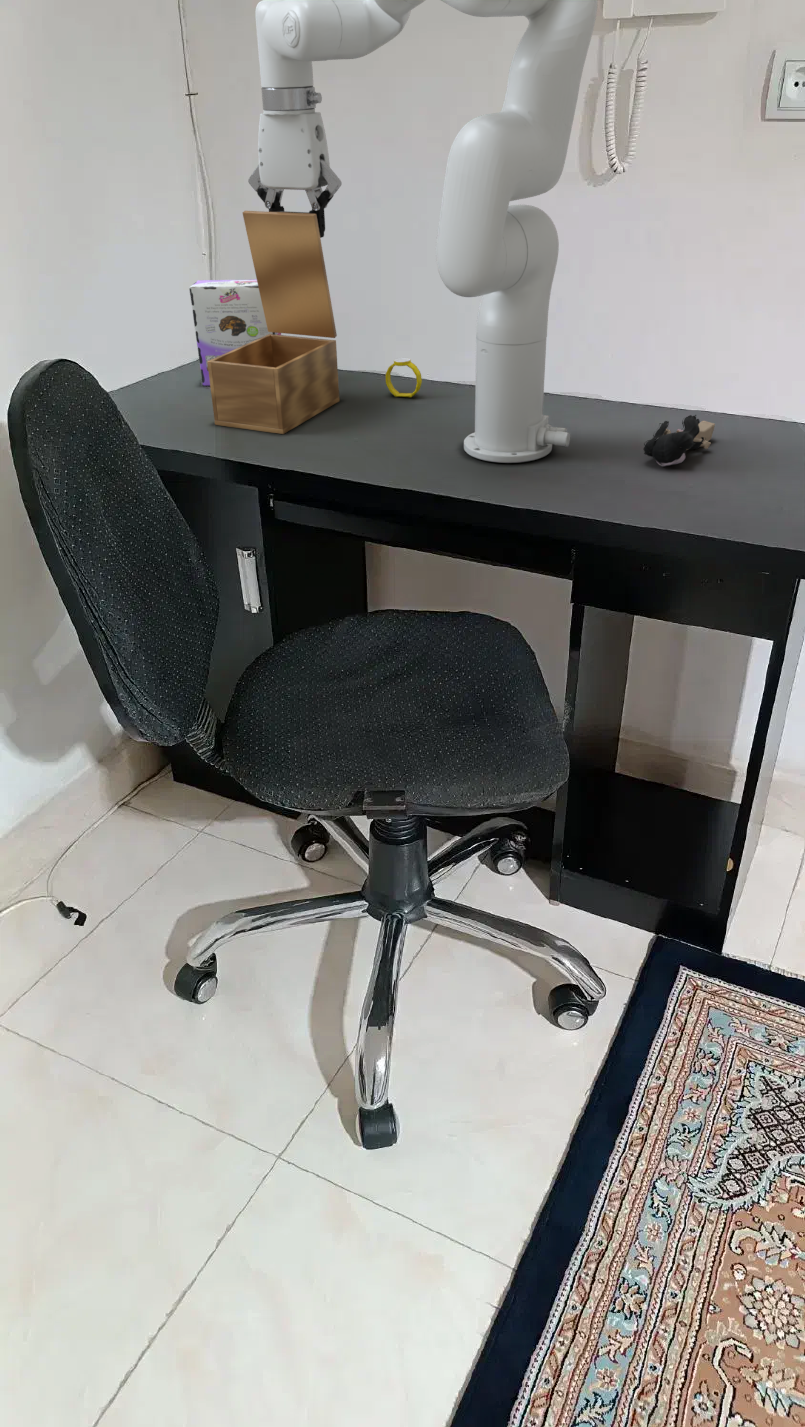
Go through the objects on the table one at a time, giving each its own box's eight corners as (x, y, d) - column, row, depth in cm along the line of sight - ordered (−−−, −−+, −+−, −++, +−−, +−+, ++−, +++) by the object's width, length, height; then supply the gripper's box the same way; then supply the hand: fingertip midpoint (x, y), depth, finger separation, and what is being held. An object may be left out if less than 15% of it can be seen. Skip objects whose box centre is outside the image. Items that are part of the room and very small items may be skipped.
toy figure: (668, 436, 153) (635, 463, 142) (679, 393, 150) (646, 418, 138) (715, 449, 151) (686, 477, 139) (727, 406, 147) (698, 432, 136)
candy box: (286, 377, 184) (277, 277, 175) (279, 386, 179) (270, 284, 170) (209, 376, 185) (197, 278, 176) (201, 386, 180) (188, 285, 171)
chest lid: (313, 215, 152) (330, 202, 155) (242, 212, 157) (259, 199, 160) (334, 338, 165) (349, 323, 168) (267, 332, 170) (283, 317, 173)
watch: (424, 395, 172) (423, 359, 169) (417, 400, 170) (416, 363, 167) (391, 392, 174) (389, 356, 171) (384, 397, 172) (382, 360, 169)
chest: (283, 434, 157) (277, 369, 152) (214, 424, 162) (206, 361, 157) (339, 401, 171) (336, 340, 166) (274, 393, 176) (269, 333, 170)
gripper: (353, 100, 150) (359, 235, 160) (251, 100, 157) (262, 230, 167) (328, 103, 145) (336, 244, 155) (223, 103, 151) (237, 238, 161)
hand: (298, 235), depth 161 cm, fingers closed on chest lid, 6 cm apart
